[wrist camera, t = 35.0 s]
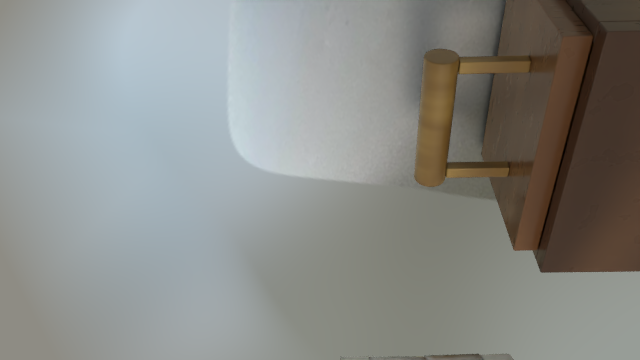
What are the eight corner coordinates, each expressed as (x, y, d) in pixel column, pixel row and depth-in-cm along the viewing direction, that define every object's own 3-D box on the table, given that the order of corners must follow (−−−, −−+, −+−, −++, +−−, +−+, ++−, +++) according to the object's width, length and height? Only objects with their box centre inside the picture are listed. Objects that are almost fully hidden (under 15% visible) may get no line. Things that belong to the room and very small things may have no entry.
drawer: (402, 155, 37) (418, 252, 31) (414, -34, 30) (438, 39, 24) (706, 149, 37) (789, 247, 30) (792, -44, 30) (925, 27, 23)
